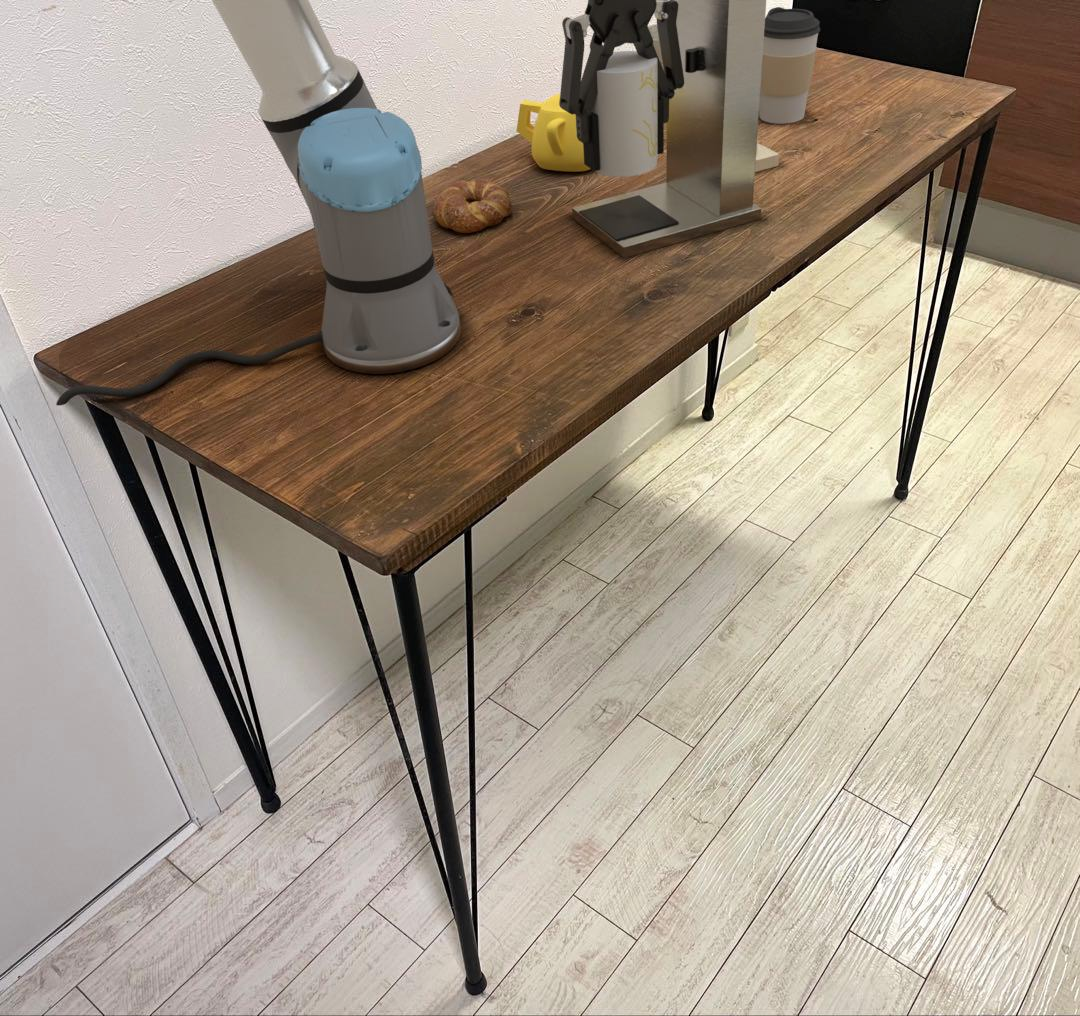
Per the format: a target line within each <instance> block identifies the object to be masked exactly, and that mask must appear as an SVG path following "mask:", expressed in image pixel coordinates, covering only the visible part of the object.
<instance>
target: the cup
mask: <svg viewBox="0 0 1080 1016" xmlns="http://www.w3.org/2000/svg"><path fill="white" fill-rule="evenodd" d="M597 87H598V94H597V97H596V100H595V103H594V106H593V110H592V112H593V113H595V114H597V115H598V128H599V156H600V170H597V171H594V172H595V173H596V174H599V175H602V176H605V177H611V178H629V177H635V176H640V175H643V174H647V173H649V172H651V171H652V170H654V169H655V168H656V167H657V165H658V157H659V155H658V60H657V58H652V59H646V58H644V57H642V56H640V55H638V53H637V51H636V50H623V51H622V50H620V51H614V52H613V54H612V56H611V57H610V58H609V60H608V63H607V66H606V69H605V70H600V71H597Z"/></svg>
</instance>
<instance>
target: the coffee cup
mask: <svg viewBox="0 0 1080 1016" xmlns="http://www.w3.org/2000/svg"><path fill="white" fill-rule="evenodd" d="M820 32H821V27H820V20H819V19H818V18H816V17H815V15H814V12H813V11H810V10H808V9H803V8H784V7H782V6H777V7H773V8H770V9H769V10H768V12H767V14H766V15H765V28H764V43H763V58H762V73H761V88H760V103H759V119H760V120H762V121H763V122H765V123H769V124H776V125H777V124H778V125H781V124H783V125H785V124H791V123H796V122H800V121H801V120H803V119H804V118H805V114H806V108H807V103H808V102H807V101H808V96H809V91H810V90H811V84H812V78H813V73H814V67H815V62H816V55H817V50H818V47H817V43H818V36H819V33H820Z"/></svg>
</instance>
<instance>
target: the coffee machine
mask: <svg viewBox="0 0 1080 1016" xmlns="http://www.w3.org/2000/svg"><path fill="white" fill-rule="evenodd" d="M674 1H676V2H677V3H678V13H677V20H676V25H677V32H678V40H679V47H680V54H681V61H682V68H683V75H684V86H683V87H682V88H680V89H679V88H677V89H675V90H674V91H675V94H674V97H673V98H671V99H669V120H668V122H667V123H666V160H665V161H666V163H665V165H666V167H665V168H666V170H665V171H666V173H665V175H666V176H665V180H666V181H665V182H662V183H659V184H656V185H651V186H648V187H644V188H640V189H637V190H633V191H629V192H625V193H622V194H618V195H613V196H610V197H607V198H602V199H599V200H595V201H592V202H591V201H590V202H587V203H585V204H584V203H583V204H579V205H576V206H573V207H571V213H572V219H573V220H574V221H576V222H577V223H578V224H579V225H581V226H582V227H584V228H585V229H586V230H587V231H589V232H590V233H591V234H592V235H593V236H594V237H596V238H597V239H599V240H600V241H601V242H603V243H604V244H605V245H607V247H609V248H610V249H611V250H613V251H614V252H616V254H618V255H619V256H620V257H622V258H623V259H627V258H630V257H632V256H636V255H639V254H643V253H647V252H650V251H653V250H657V249H660V248H665V247H668V246H671V245H674V244H678V243H682V242H685V241H689V240H693V239H695V238H698V237H699V238H700V237H702V236H706V235H709V234H713V233H716V232H720V231H723V230H727V229H730V228H735V227H737V226H740V225H741V226H742V225H744V224H747V223H751V222H755V221H758V220H759V221H760V220H761V218H762V217H761V216H762V207H760V206H758V205H757V204H755V203H754V193H755V192H754V191H755V176H756V172H755V163H756V148H757V141H758V133H759V132H758V131H759V119H760V117H759V103H760V88H761V73H762V58H763V43H764V28H765V18H766V13H767V12H766V11H767V0H674Z"/></svg>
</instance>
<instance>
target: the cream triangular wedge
mask: <svg viewBox="0 0 1080 1016" xmlns="http://www.w3.org/2000/svg"><path fill="white" fill-rule="evenodd" d="M779 165H780V153H779V152H776V151H774V150H772V149H770V148H769V147H766V146H765V145H763V144H761V143H759V141H758V140H757V148H756V163H755V173H758V172H760V171H766V170H768V169H772V168H776V167H779Z"/></svg>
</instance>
